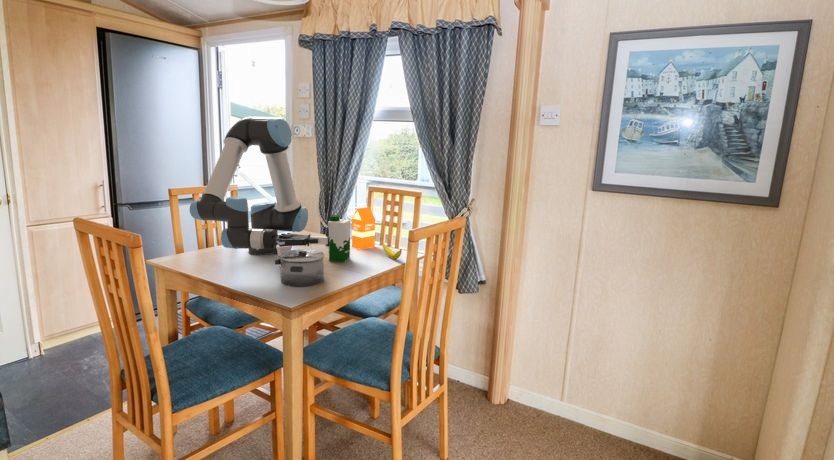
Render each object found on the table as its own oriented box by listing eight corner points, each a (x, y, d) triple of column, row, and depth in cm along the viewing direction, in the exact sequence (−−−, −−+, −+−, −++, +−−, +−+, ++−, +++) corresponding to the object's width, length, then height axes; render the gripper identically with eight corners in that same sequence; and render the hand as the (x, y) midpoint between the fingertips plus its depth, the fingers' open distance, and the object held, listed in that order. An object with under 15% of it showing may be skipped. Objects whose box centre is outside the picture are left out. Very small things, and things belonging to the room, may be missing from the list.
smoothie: (278, 265, 194) (277, 233, 191) (293, 265, 195) (292, 233, 192) (275, 269, 188) (273, 236, 185) (290, 269, 188) (289, 236, 186)
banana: (385, 252, 220) (385, 240, 218) (404, 262, 204) (404, 249, 202) (379, 253, 218) (379, 240, 217) (398, 263, 202) (398, 249, 201)
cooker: (328, 272, 186) (327, 251, 184) (318, 289, 166) (317, 265, 164) (284, 271, 185) (283, 250, 184) (269, 288, 165) (268, 264, 163)
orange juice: (374, 246, 231) (375, 207, 227) (361, 249, 225) (361, 209, 221) (364, 243, 236) (365, 206, 232) (351, 246, 230) (351, 207, 226)
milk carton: (333, 256, 211) (333, 214, 207) (352, 258, 209) (352, 215, 205) (326, 261, 202) (325, 217, 198) (345, 263, 200) (345, 218, 196)
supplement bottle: (327, 246, 228) (327, 223, 225) (324, 243, 234) (323, 221, 231) (341, 245, 231) (340, 222, 228) (336, 242, 237) (336, 220, 234)
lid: (327, 252, 182) (327, 247, 181) (319, 263, 166) (319, 258, 166) (287, 251, 181) (286, 246, 181) (275, 262, 166) (275, 257, 165)
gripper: (270, 244, 179) (330, 246, 180) (259, 253, 166) (324, 254, 167) (269, 226, 177) (330, 227, 178) (258, 233, 165) (324, 234, 165)
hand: (327, 240), depth 172 cm, fingers closed
